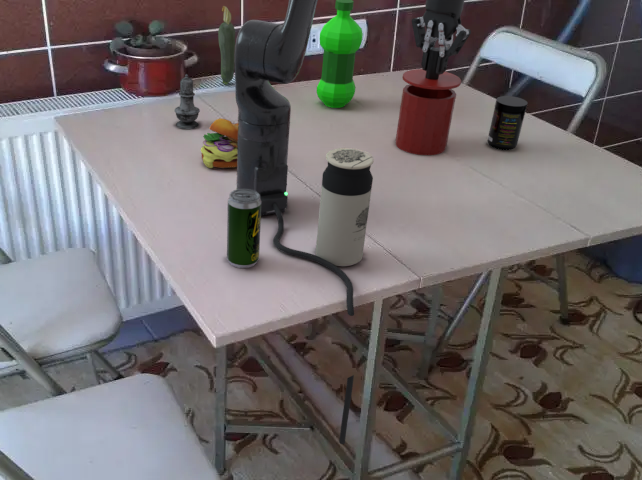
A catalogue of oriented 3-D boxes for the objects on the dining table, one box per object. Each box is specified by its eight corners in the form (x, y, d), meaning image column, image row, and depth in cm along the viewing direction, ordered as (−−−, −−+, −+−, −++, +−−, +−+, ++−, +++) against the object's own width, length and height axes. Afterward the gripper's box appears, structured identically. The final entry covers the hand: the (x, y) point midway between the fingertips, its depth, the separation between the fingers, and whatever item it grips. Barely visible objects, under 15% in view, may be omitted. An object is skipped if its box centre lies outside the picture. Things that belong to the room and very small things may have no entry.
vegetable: (237, 86, 198) (238, 7, 187) (222, 88, 196) (223, 9, 185) (229, 81, 201) (230, 4, 190) (215, 83, 199) (215, 5, 188)
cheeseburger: (187, 160, 157) (195, 113, 153) (223, 159, 164) (231, 113, 161) (220, 175, 151) (229, 126, 147) (256, 173, 159) (265, 126, 155)
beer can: (223, 267, 122) (224, 201, 116) (230, 250, 127) (231, 186, 120) (256, 270, 122) (259, 204, 115) (261, 254, 126) (264, 190, 119)
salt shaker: (198, 130, 172) (198, 78, 165) (173, 129, 172) (171, 77, 165) (201, 120, 176) (200, 70, 170) (176, 119, 176) (174, 69, 170)
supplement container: (522, 150, 168) (533, 105, 162) (494, 152, 167) (505, 106, 161) (507, 139, 174) (518, 95, 168) (481, 140, 172) (490, 96, 167)
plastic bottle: (305, 103, 189) (313, -1, 175) (334, 95, 195) (344, -6, 181) (334, 114, 183) (345, 8, 169) (363, 105, 189) (375, 2, 175)
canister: (455, 147, 169) (466, 92, 162) (425, 159, 162) (435, 103, 155) (415, 132, 175) (424, 79, 168) (385, 143, 169) (393, 89, 162)
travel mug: (305, 253, 127) (314, 154, 117) (338, 239, 131) (349, 143, 121) (338, 273, 122) (350, 171, 112) (371, 258, 126) (386, 159, 116)
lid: (471, 85, 161) (478, 51, 157) (437, 96, 153) (444, 61, 149) (424, 71, 168) (430, 38, 164) (390, 81, 161) (395, 47, 157)
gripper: (408, -19, 152) (396, 67, 161) (466, -6, 143) (450, 83, 153) (430, -23, 156) (417, 61, 166) (488, -10, 148) (470, 77, 157)
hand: (433, 71), depth 159 cm, fingers closed on lid, 3 cm apart
